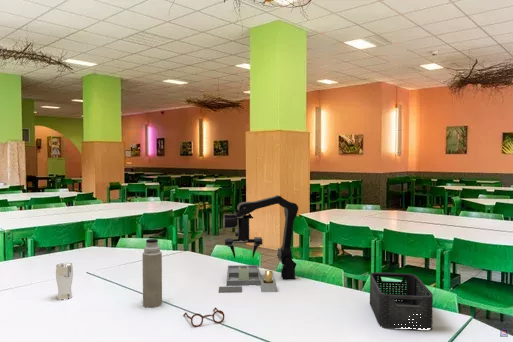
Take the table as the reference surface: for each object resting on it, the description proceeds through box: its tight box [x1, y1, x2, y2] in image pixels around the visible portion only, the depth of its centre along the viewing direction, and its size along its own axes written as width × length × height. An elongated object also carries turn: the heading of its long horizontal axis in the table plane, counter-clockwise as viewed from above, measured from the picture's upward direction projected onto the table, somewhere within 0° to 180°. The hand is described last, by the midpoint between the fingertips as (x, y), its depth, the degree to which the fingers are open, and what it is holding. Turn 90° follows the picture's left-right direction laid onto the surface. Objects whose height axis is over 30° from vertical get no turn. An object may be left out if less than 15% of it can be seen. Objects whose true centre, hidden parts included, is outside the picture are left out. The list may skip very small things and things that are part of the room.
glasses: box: [182, 306, 225, 328], centre depth 162 cm, size 13×13×5 cm
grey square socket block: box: [259, 278, 277, 293], centre depth 198 cm, size 7×7×4 cm
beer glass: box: [55, 262, 74, 300], centre depth 186 cm, size 7×7×15 cm
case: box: [225, 264, 262, 287], centre depth 219 cm, size 17×30×2 cm, turn 3°
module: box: [238, 266, 250, 280], centre depth 211 cm, size 5×5×8 cm
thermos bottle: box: [142, 238, 163, 309], centre depth 178 cm, size 8×8×28 cm
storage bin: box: [369, 272, 434, 329], centre depth 166 cm, size 29×19×13 cm
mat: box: [217, 286, 243, 294], centre depth 198 cm, size 11×8×1 cm
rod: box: [264, 269, 274, 283], centre depth 198 cm, size 4×4×8 cm
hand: (243, 257), depth 211 cm, fingers open, 9 cm apart
